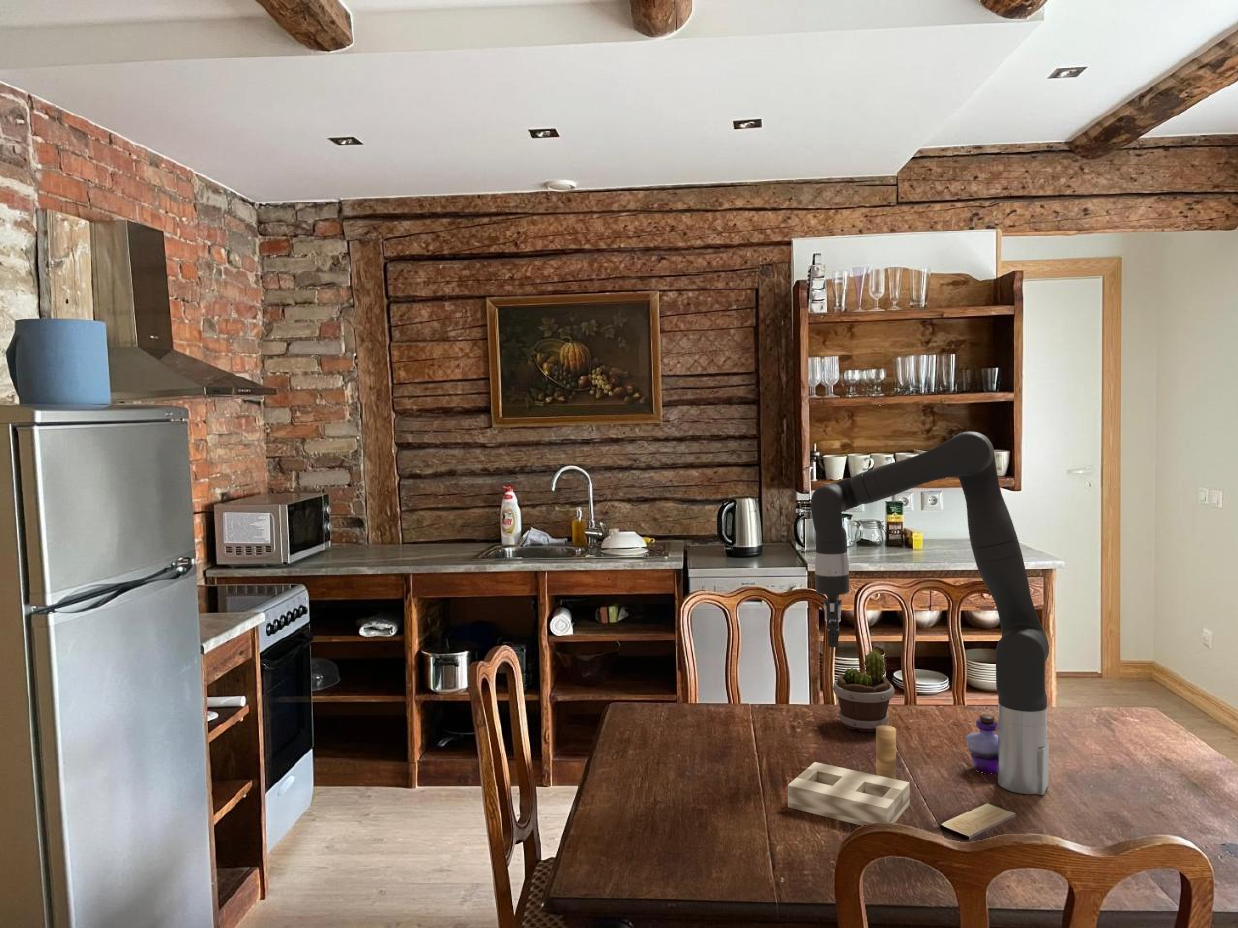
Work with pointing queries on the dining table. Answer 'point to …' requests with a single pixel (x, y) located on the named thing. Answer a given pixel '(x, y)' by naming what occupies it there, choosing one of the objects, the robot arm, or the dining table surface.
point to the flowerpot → (864, 695)
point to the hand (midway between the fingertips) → (833, 642)
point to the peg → (886, 751)
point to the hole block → (848, 795)
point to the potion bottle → (984, 745)
